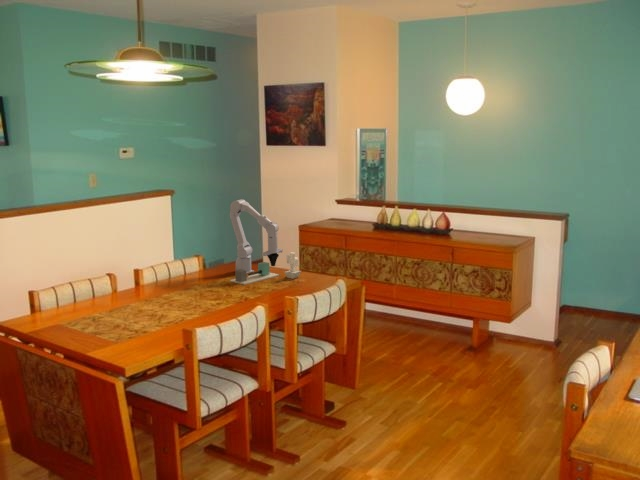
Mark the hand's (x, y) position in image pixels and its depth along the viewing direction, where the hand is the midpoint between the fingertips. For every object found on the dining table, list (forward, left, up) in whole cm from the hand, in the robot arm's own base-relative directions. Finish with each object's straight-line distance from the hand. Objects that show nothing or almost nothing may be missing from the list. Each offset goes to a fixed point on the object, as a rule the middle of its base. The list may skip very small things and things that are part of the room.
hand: (273, 265), depth 382 cm
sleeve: (0, -8, -3) cm, 9 cm away
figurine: (+15, +1, -5) cm, 16 cm away
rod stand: (0, -15, -5) cm, 16 cm away
